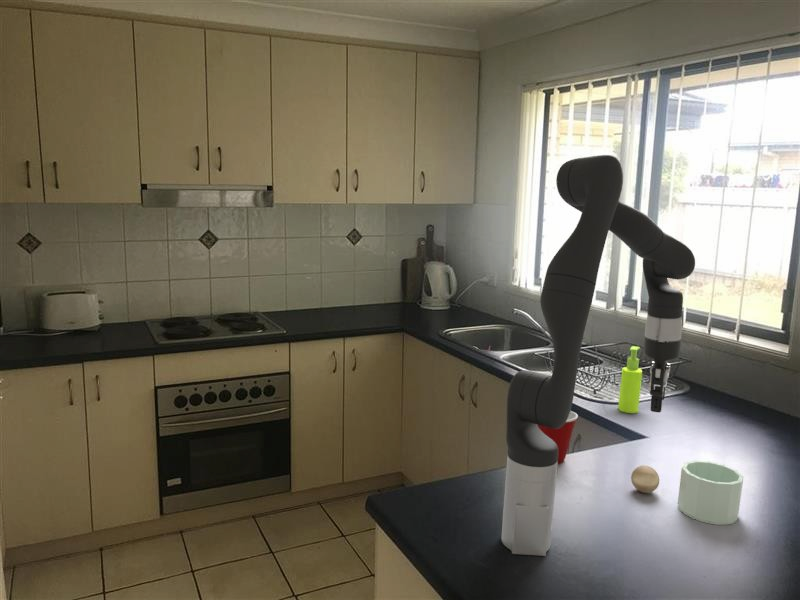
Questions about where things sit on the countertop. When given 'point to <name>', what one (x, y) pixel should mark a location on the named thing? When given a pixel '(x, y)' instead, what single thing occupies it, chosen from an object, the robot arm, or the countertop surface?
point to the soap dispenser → (630, 384)
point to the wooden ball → (645, 479)
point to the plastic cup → (561, 435)
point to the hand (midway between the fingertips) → (657, 405)
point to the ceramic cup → (710, 492)
